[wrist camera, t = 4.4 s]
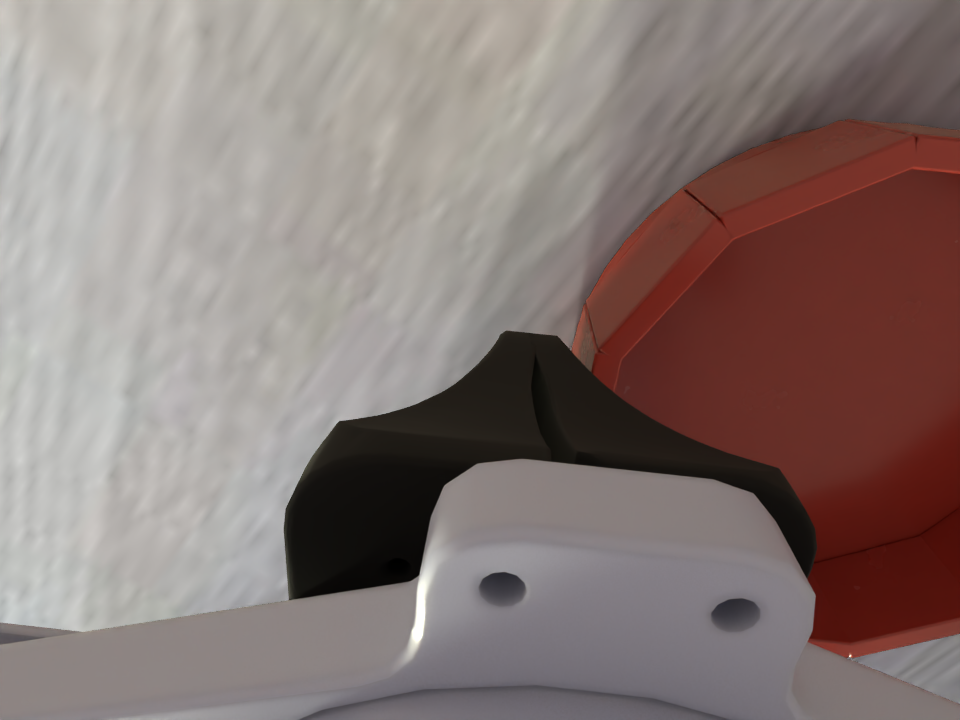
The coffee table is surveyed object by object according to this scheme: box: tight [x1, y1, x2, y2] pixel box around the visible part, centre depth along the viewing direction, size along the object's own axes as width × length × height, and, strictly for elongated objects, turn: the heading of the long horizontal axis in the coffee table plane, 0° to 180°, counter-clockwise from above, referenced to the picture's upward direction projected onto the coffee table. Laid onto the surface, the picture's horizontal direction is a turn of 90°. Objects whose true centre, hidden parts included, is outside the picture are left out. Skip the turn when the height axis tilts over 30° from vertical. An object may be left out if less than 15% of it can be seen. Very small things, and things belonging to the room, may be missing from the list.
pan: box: [571, 119, 960, 658], centre depth 14 cm, size 17×11×3 cm, turn 175°
